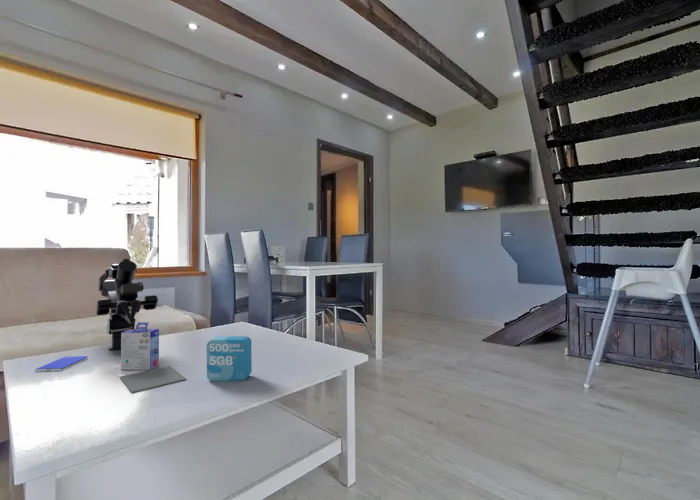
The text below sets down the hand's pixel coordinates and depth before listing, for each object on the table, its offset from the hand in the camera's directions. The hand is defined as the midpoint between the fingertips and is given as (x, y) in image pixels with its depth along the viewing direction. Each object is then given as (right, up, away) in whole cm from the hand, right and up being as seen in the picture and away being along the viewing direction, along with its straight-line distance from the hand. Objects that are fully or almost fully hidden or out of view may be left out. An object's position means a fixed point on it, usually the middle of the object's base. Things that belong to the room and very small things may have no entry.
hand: (131, 323), depth 124 cm
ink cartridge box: (+9, -13, -9) cm, 18 cm away
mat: (+18, -13, -20) cm, 30 cm away
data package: (+41, -13, -20) cm, 47 cm away
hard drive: (-20, -14, -6) cm, 25 cm away
